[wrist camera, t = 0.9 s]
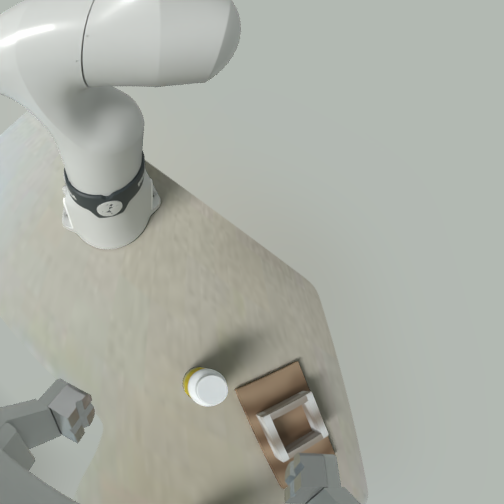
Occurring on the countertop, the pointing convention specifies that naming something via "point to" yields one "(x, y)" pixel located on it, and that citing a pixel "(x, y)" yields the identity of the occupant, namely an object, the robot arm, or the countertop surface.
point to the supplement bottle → (205, 386)
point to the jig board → (284, 418)
